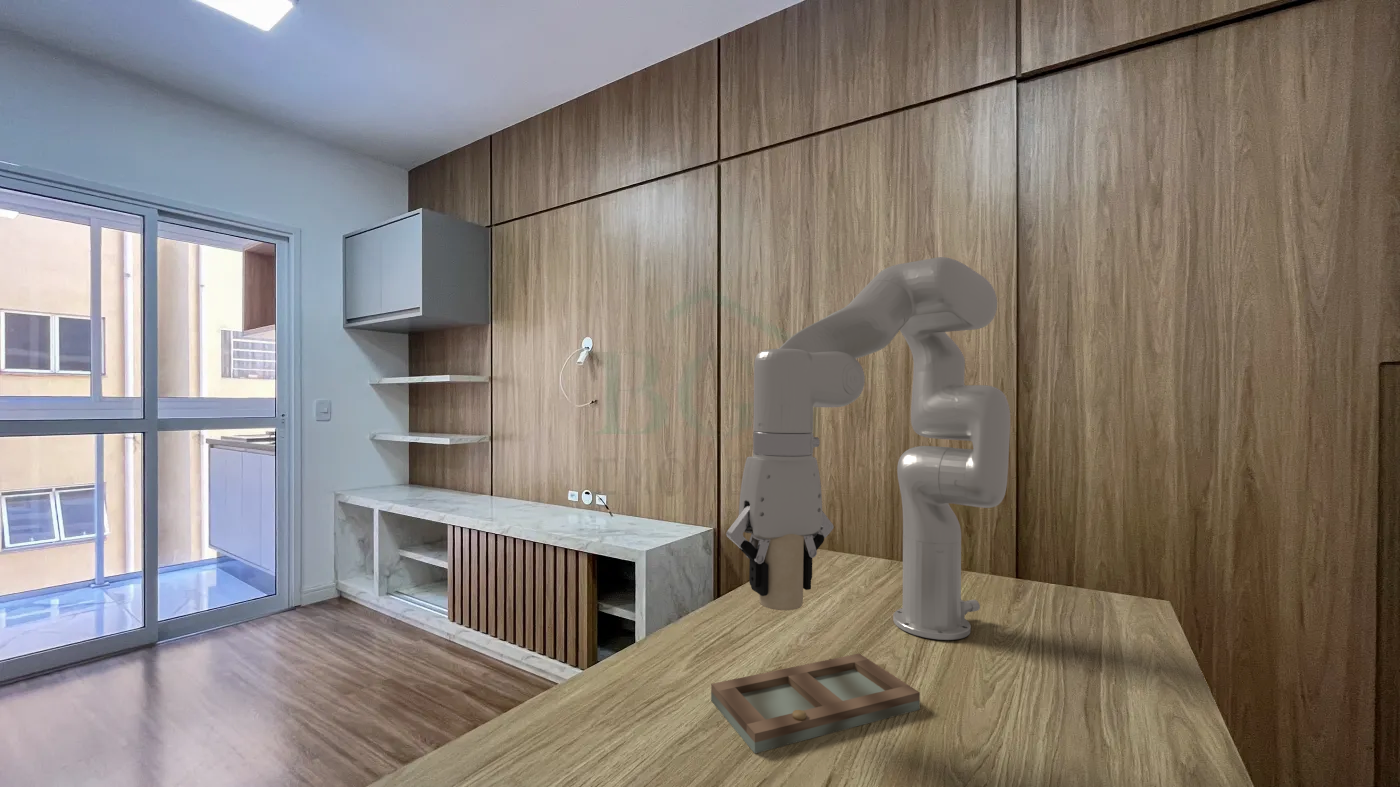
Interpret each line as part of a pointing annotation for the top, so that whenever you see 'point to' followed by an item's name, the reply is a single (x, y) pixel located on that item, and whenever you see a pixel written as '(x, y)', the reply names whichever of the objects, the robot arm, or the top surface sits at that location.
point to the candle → (784, 573)
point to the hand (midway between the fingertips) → (781, 588)
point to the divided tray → (811, 700)
